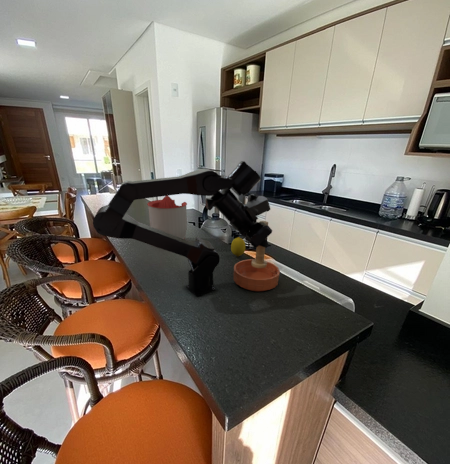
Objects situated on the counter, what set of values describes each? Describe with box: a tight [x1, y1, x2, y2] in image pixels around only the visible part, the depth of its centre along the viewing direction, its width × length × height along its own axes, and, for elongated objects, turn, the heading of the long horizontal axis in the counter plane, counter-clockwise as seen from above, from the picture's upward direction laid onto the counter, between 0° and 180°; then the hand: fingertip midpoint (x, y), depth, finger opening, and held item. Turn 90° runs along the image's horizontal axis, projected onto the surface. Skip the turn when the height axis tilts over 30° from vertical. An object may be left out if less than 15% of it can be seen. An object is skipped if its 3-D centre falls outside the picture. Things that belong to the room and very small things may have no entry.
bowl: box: [232, 258, 281, 292], centre depth 78 cm, size 14×14×4 cm
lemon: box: [230, 236, 246, 258], centre depth 95 cm, size 6×6×8 cm
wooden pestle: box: [251, 220, 269, 268], centre depth 73 cm, size 5×5×14 cm
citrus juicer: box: [147, 195, 188, 240], centre depth 104 cm, size 16×17×20 cm
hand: (265, 244), depth 74 cm, fingers closed on wooden pestle, 2 cm apart
